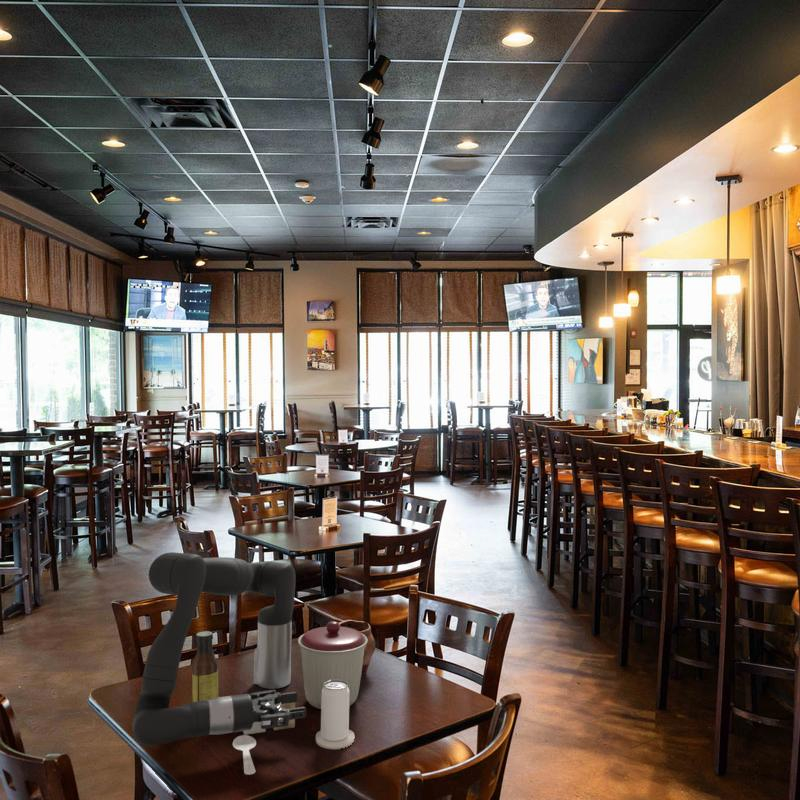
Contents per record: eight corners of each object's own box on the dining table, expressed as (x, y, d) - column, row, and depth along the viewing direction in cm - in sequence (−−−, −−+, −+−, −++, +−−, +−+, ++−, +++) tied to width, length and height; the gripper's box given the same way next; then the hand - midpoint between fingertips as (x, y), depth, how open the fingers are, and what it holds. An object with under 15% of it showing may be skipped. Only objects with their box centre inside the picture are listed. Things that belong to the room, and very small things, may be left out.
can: (344, 743, 167) (345, 691, 167) (316, 740, 168) (317, 688, 168) (351, 731, 173) (352, 680, 173) (325, 727, 175) (326, 677, 174)
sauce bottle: (223, 709, 185) (224, 631, 185) (209, 720, 180) (210, 639, 179) (200, 705, 188) (202, 628, 187) (186, 715, 182) (187, 635, 181)
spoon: (237, 777, 154) (237, 775, 154) (231, 738, 171) (231, 736, 171) (263, 774, 156) (263, 771, 155) (254, 735, 173) (254, 733, 173)
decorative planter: (388, 682, 205) (389, 633, 205) (348, 690, 199) (349, 639, 199) (357, 659, 223) (358, 613, 222) (319, 665, 217) (320, 618, 217)
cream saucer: (309, 745, 168) (309, 741, 168) (325, 728, 176) (325, 724, 176) (345, 752, 165) (345, 747, 165) (360, 734, 174) (360, 730, 174)
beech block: (274, 730, 175) (274, 705, 175) (269, 721, 180) (270, 697, 180) (294, 727, 177) (295, 702, 177) (289, 718, 181) (290, 694, 181)
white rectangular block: (244, 735, 172) (244, 709, 172) (240, 725, 177) (241, 701, 177) (265, 731, 174) (266, 706, 174) (261, 722, 179) (261, 698, 179)
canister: (282, 702, 190) (283, 621, 190) (332, 682, 204) (334, 607, 204) (330, 724, 179) (332, 638, 178) (380, 702, 192) (382, 621, 192)
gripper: (235, 710, 155) (309, 700, 161) (224, 685, 168) (294, 676, 174) (234, 746, 155) (309, 734, 161) (223, 717, 168) (293, 707, 174)
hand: (301, 704), depth 168 cm, fingers open, 8 cm apart
